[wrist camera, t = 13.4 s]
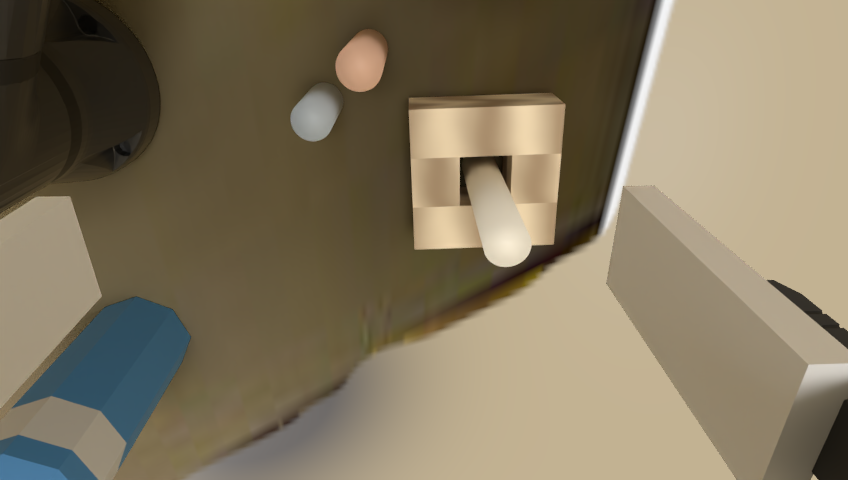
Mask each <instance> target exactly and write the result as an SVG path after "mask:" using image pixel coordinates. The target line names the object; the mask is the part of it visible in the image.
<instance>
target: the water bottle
mask: <svg viewBox="0 0 848 480" xmlns="http://www.w3.org/2000/svg"><path fill="white" fill-rule="evenodd" d="M190 338H191V336H190V335H189V333H188V332H187V330H186V329H185V327H184V326H183V324H182V323H181V321H180V320H179V318H178V317H177V315H176V314H175V312H174V311H173V309H170V308H167V307H164V306H161V305H159V304H156V303H153V302H150V301H147V300H144V299H142V298H139V297H134V298H131V299H128V300H125V301H122V302H119V303H116V304H113V305H110V306H107V307H104V309H103V310H102V311H101V312H100V313H99V314H98V315H97V316H96V317H95V318H94V319H93V320H92V322H91V323H90V324H89V325H88V326H87V327H86V328H85V329H84V330H83V331H82V332H81V333H80V335H79V336H78V337H77V338H76V339H75V340H74V341H73V342H72V343H71V344H70V345H69V347H68V348H67V349H66V350H65V351H64V352H63V353H62V354H61V355H60V356H59V357H58V358H57V360H56V361H55V362H54V363H53V364H52V365H51V366H50V367H49V368H48V369H47V370H46V371H45V373H44V374H43V375H42V376H41V377H40V378H39V379H38V380H37V381H36V382H35V383H34V384H33V386H32V387H31V388H30V389H29V390H28V391H27V392H26V393H25V394H24V395H23V396H22V398H21V399H20V400H19V401H18V402H17V403H16V404H15V405H14V406H13V407H12V408H11V409H10V411H9V412H8V413H7V414H6V415H5V416H4V417H3V418H2V419H1V420H0V480H113V478H114V476H115V475H116V473H117V471H118V470H119V468H120V466H121V465H122V463H123V461H124V460H125V458H126V456H127V454H128V453H129V451H130V449H131V448H132V446H133V444H134V443H135V441H136V439H137V437H138V436H139V434H140V432H141V431H142V429H143V427H144V426H145V424H146V422H147V421H148V419H149V417H150V415H151V414H152V412H153V410H154V409H155V407H156V405H157V404H158V402H159V400H160V399H161V397H162V395H163V393H164V392H165V390H166V388H167V387H168V385H169V383H170V382H171V380H172V378H173V377H174V375H175V373H176V371H177V370H178V368H179V366H180V365H181V363H182V361H183V358H184V355H185V352H186V349H187V347H188V344H189V341H190Z"/></svg>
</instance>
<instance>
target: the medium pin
mask: <svg viewBox="0 0 848 480" xmlns="http://www.w3.org/2000/svg"><path fill="white" fill-rule="evenodd" d="M387 54H388V44H387V41H386V39H385V38H384V36H383V35H382V34H381V33H380V32H378V31H376V30H373V29H364V30H361V31H360V32H358V33H357V34H356V35H355V36H354V37H353V38H352V39H351V40H350V42H349V43H348V44H347V45H346V46H345V47H344V48H343V49H342V50H341V52H340V53H339V55H338V57H337V59H336V73H337V76H338V78H339V80H340V81H341V83H342V84H343V85H344V86H345V87H347V88H348V89H350V90H352V91H356V92H364V91H368V90H370V89H372V88H373V87H375V86H376V85H377V83H378V82H379V80H380V78H381V76H382V72H383V69H384V65H385V61H386V58H387Z"/></svg>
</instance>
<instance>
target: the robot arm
mask: <svg viewBox="0 0 848 480" xmlns="http://www.w3.org/2000/svg"><path fill="white" fill-rule="evenodd" d="M159 112H160V96H159V89H158V84H157V80H156V76H155V73H154V70H153V68H152V65H151V63H150V61H149V59H148V57H147V55H146V53H145V51H144V49H143V48H142V46H141V45H140V43H139V42H138V40H137V39H136V38H135V36H134V35H133V34H132V32H131V31H130V30H129V29H128V28H127V27H126V26H125V25H124V24H123V23H122V22H121V21H120V20H119V19H118V18H117V17H116V16H115V15H114V14H113V13H111V12H110V11H109V10H108V9H106V8H105V7H103V6H102V5H101V4H99V3H97V2H96V1H94V0H0V213H1V212H3V211H5V210H6V209H8V208H10V207H11V206H13V205H15V204H16V203H18V202H20V201H21V200H23V199H25V198H26V197H28V196H29V195H31V194H33V193H35V192H36V191H38V190H40V189H41V188H43V187H45V186H47V185H48V184H50V183H65V182H80V181H89V180H94V179H98V178H101V177H104V176H107V175H110V174H112V173H114V172H116V171H118V170H119V169H121V168H122V167H124V166H126V165H127V164H129V163H130V162H132V161H133V160H134V159H136V158H137V157H138V156H139V155H140V154H141V153H142V152H143V151H144V150H145V149H146V147H147V146H148V144H149V143H150V141H151V139H152V137H153V135H154V133H155V130H156V128H157V124H158V119H159ZM606 284H607V285H608V287H609V288H610V290H611V291H612V293H613V294H614V296H615V297H616V299H617V300H618V302H619V303H620V305H621V306H622V308H623V309H624V311H625V312H626V314H627V315H628V317H629V318H630V320H631V321H632V323H633V324H634V326H635V327H636V329H637V330H638V332H639V333H640V335H641V336H642V338H643V339H644V341H645V342H646V344H647V346H648V347H649V348H650V350H651V351H652V353H653V355H654V356H655V358H656V359H657V360H658V362H659V364H660V365H661V366H662V368H663V370H664V371H665V373H666V374H667V375H668V377H669V379H670V380H671V382H672V383H673V385H674V386H675V388H676V389H677V391H678V392H679V394H680V395H681V397H682V398H683V400H684V401H685V402H686V404H687V406H688V407H689V409H690V410H691V412H692V413H693V415H694V416H695V418H696V419H697V420H698V422H699V424H700V425H701V427H702V428H703V430H704V431H705V433H706V434H707V436H708V437H709V439H710V440H711V442H712V443H713V445H714V446H715V448H716V449H717V451H718V452H719V454H720V455H721V457H722V458H723V460H724V461H725V463H726V464H727V466H728V467H729V469H730V470H731V472H732V473H733V475H734V476H735V478H736V479H737V480H811V478H812V476H813V474H814V475H815V476H816V477H817V479H818V480H848V331H847V330H845V329H844V328H840V327H839V324H838V323H837V322H835V321H834V320H833V319H831V317H829V316H828V315H827V314H822V310H821V309H819V308H818V307H817V306H816V305H814V304H813V303H812V302H811V301H809V300H808V299H807V298H806V297H805V296H803V295H802V294H800V293H798V292H796V291H794V290H792V289H790V288H788V287H786V286H784V285H782V284H780V283H778V282H776V281H774V280H765V279H764V278H763V277H762V276H761V275H759V274H758V273H757V272H756V271H755V270H753V269H752V268H751V267H750V266H749V265H747V264H746V263H745V262H744V261H743V260H742V259H740V258H739V257H738V256H737V255H736V254H735V253H733V252H732V251H731V250H730V249H729V248H727V247H726V246H725V245H724V244H722V243H721V242H720V241H719V240H718V239H717V238H716V237H714V236H713V235H712V234H711V233H710V232H708V231H707V230H706V229H705V228H704V227H703V226H701V225H700V224H699V223H698V222H696V221H695V220H694V219H693V218H692V217H691V216H689V215H688V214H687V213H686V212H685V211H684V210H682V209H681V208H680V207H679V206H678V205H677V204H675V203H674V202H673V201H672V200H671V199H669V198H668V197H667V196H666V195H665V194H663V193H662V192H661V191H660V190H659V189H658V188H656V187H655V186H623V190H622V196H621V202H620V208H619V213H618V220H617V225H616V231H615V236H614V243H613V249H612V254H611V259H610V265H609V271H608V277H607V282H606ZM101 296H102V295H101V292H100V289H99V286H98V283H97V279H96V276H95V273H94V270H93V267H92V264H91V261H90V257H89V254H88V251H87V248H86V245H85V242H84V239H83V235H82V232H81V229H80V226H79V223H78V220H77V216H76V213H75V210H74V207H73V204H72V201H71V198H70V196H52V197H35V198H34V199H32V200H31V201H29V202H27V203H26V204H24V205H23V206H21V207H19V208H18V209H16V210H15V211H13V212H12V213H10V214H8V215H7V216H5V217H4V218H2V219H0V409H1V407H2V406H3V405H4V404H5V403H6V402H7V401H8V400H9V399H10V397H11V396H12V395H13V394H14V393H15V392H16V391H17V390H18V389H19V387H20V386H21V385H22V384H23V383H24V382H25V381H26V380H27V379H28V377H29V376H30V375H31V374H32V373H33V372H34V371H35V370H36V369H37V367H38V366H39V365H40V364H41V363H42V362H43V361H44V360H45V359H46V357H47V356H48V355H49V354H50V353H51V352H52V351H53V350H54V349H55V348H56V346H57V345H58V344H59V343H60V342H61V341H62V340H63V339H64V338H65V336H66V335H67V334H68V333H69V332H70V331H71V330H72V329H73V328H74V326H75V325H76V324H77V323H78V322H79V321H80V320H81V319H82V318H83V316H84V315H85V314H86V313H87V312H88V311H89V310H90V309H91V308H92V306H93V305H94V304H95V303H96V302H97V301H98V300H99V299H100V298H101Z"/></svg>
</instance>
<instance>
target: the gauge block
mask: <svg viewBox="0 0 848 480" xmlns="http://www.w3.org/2000/svg"><path fill="white" fill-rule="evenodd" d="M564 115H565V104H564V103H563V102H562V101H561V100H560V99H558V98H557V97H556V96H555V95H554V94H552V93H531V94H503V95H475V96H446V97H418V98H409V128H410V152H411V176H412V199H413V223H414V246H415V250H417V249H444V248H471V247H483V246H482V242H481V239H480V235H479V231H478V227H477V224H476V220H475V216H474V212H473V209H472V205H471V201H470V197H469V194H468V190H467V187H460V157H480V156H503V171H502V177H503V179H504V181H505V183H506V185H507V187H508V190H509V192H510V194H511V196H512V198H513V201H514V203H515V205H516V207H517V209H518V211H519V214H520V216H521V218H522V220H523V222H524V224H525V227H526V229H527V231H528V233H529V235H530V238H531V245H550V244H554V234H555V222H556V210H557V198H558V186H559V174H560V162H561V150H562V139H563V127H564Z"/></svg>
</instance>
